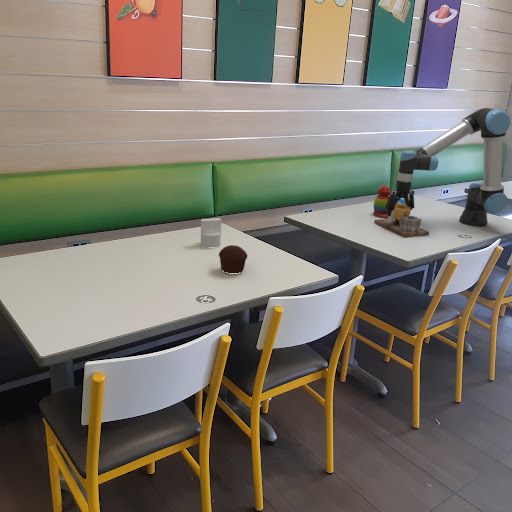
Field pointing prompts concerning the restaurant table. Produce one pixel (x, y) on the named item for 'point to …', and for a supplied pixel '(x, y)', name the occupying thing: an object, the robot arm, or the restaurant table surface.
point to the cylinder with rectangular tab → (211, 232)
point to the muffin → (232, 259)
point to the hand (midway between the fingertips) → (397, 221)
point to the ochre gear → (400, 211)
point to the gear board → (396, 228)
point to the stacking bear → (381, 202)
